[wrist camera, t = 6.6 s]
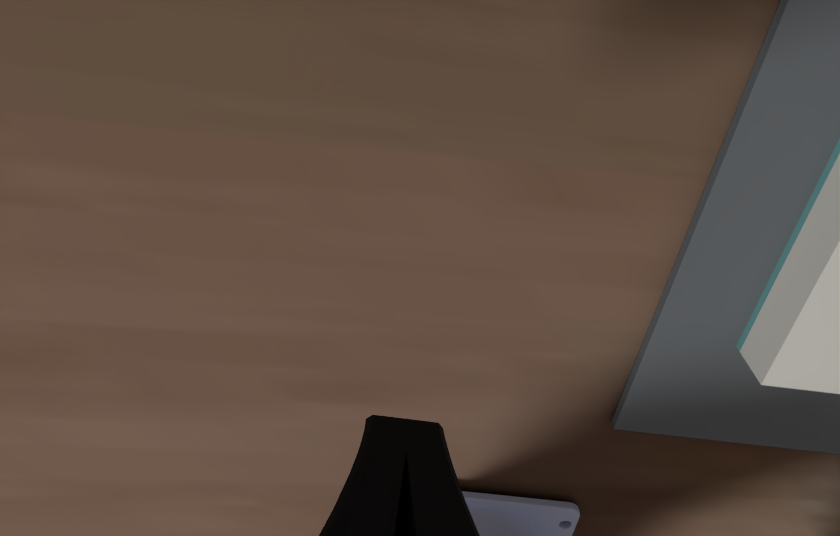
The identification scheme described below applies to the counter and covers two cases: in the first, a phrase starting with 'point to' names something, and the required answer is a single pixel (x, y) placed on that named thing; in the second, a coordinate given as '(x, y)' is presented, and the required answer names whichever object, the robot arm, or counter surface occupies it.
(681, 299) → the mat
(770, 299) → the tile
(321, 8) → the counter surface
